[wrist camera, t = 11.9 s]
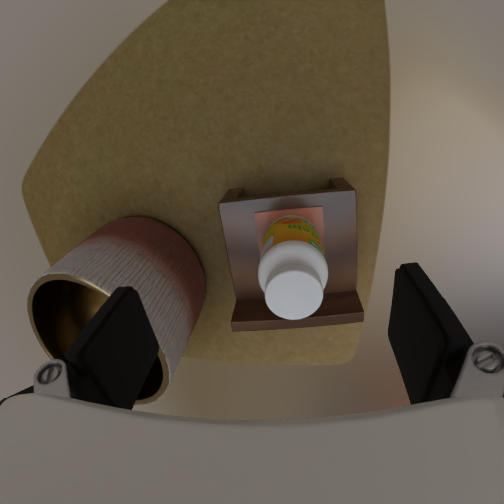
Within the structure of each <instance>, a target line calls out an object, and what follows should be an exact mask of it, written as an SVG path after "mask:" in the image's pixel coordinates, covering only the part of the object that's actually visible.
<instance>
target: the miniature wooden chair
mask: <svg viewBox="0 0 504 504" xmlns="http://www.w3.org/2000/svg"><path fill="white" fill-rule="evenodd" d="M330 186H331V189H324V190H312V191H300V192H290V193H280V194H270V195H261V196H252V197H244V194H243V188H236V189H229V190H228V191H227V193H226V194H225V195H224V197H223V198H222V199H221V201H220V202H219V203H218V206H219V212H220V217H221V223H222V228H223V233H224V239H225V244H226V249H227V254H228V259H229V265H230V270H231V275H232V280H233V285H234V290H235V295H236V304H235V308H234V312H233V315H232V319H231V326H232V330H233V332H234V331H258V330H276V329H291V328H304V327H316V326H327V325H337V324H347V323H356V322H363V320H364V310H363V307H362V305H361V302H360V299H359V296H358V293H357V291H356V284H357V206H356V190H355V189H354V188H353V187H352V186H351V185H350V184H349V183H348V182H347V181H346V180H345V179H344V178H335V179H330ZM289 215H295V216H300V217H303V218H305V219H307V220H308V221H310V222H311V223H312V224H313V225H314V226H315V228H316V229H317V231H318V234H319V236H320V240H321V244H322V248H323V251H324V255H325V259H326V262H327V267H328V279H327V283H326V286H325V288H324V290H323V299H322V302H321V305H320V306H319V308H318V309H317V310H316V311H315V312H314V313H313V314H311V315H309V316H308V317H305V318H302V319H296V320H290V319H285V318H282V317H279V316H277V315H276V314H274V313H273V312H272V311H271V310H270V309H269V307H268V306H267V303H266V300H265V293H264V292H263V290H262V288H261V286H260V284H259V279H258V268H259V262H260V257H261V251H262V245H263V239H264V235H265V232H266V230H267V229H268V227H269V226H270V225H271V224H272V223H273V222H274V221H275V220H277V219H279V218H281V217H284V216H289Z"/></svg>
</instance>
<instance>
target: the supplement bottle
mask: <svg viewBox="0 0 504 504" xmlns="http://www.w3.org/2000/svg"><path fill="white" fill-rule="evenodd" d="M258 279H259V284H260V286H261V288H262V290H263V292H264V293H265V300H266V303H267V306H268V307H269V309H270V310H271V311H272V312H273V313H274V314H276V315H277V316H279V317H282V318H285V319H290V320H296V319H302V318H305V317H308V316H309V315H311V314H313V313H314V312H315V311H316V310H317V309H318V308H319V306H320V305H321V302H322V299H323V290H324V288H325V286H326V283H327V279H328V267H327V262H326V259H325V255H324V251H323V248H322V244H321V240H320V236H319V234H318V231H317V229H316V228H315V226H314V225H313V224H312V223H311V222H310V221H308V220H307V219H305V218H303V217H300V216H295V215H289V216H284V217H281V218H279V219H277V220H275V221H274V222H273V223H272V224H271V225H270V226H269V227H268V229H267V230H266V232H265V235H264V239H263V245H262V251H261V257H260V262H259V268H258Z"/></svg>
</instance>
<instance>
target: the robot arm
mask: <svg viewBox="0 0 504 504" xmlns="http://www.w3.org/2000/svg"><path fill="white" fill-rule="evenodd" d="M388 337H389V341H390V344H391V346H392V349H393V352H394V354H395V357H396V360H397V363H398V366H399V369H400V372H401V375H402V378H403V381H404V384H405V387H406V390H407V393H408V396H409V400H410V403H411V405H408V406H403V407H397V408H392V409H385V410H379V411H372V412H364V413H358V414H350V415H341V416H331V417H320V418H307V419H286V420H227V419H207V418H193V417H181V416H172V415H163V414H155V413H147V412H140V411H133V410H132V408H133V406H134V404H135V401H136V399H137V397H138V395H139V393H140V390H141V388H142V386H143V384H144V382H145V380H146V377H147V375H148V373H149V371H150V369H151V367H152V365H153V362H154V360H155V358H156V356H157V354H158V352H159V343H158V340H157V338H156V336H155V333H154V331H153V329H152V326H151V324H150V321H149V319H148V316H147V314H146V311H145V309H144V306H143V303H142V301H141V298H140V296H139V293H138V291H137V290H134V288H133V287H131V286H125V287H117V288H116V289H115V290H114V292H113V293H112V294H111V295H110V296H109V298H108V299H107V300H106V301H105V303H104V304H103V305H102V306H101V307H100V309H99V310H98V311H97V312H96V314H95V315H94V316H93V317H92V319H91V320H90V321H89V322H88V324H87V325H86V326H85V327H84V329H83V330H82V331H81V333H80V334H79V335H78V336H77V338H76V339H75V340H74V342H73V343H72V344H71V346H70V347H69V348H68V350H67V351H66V352H65V354H64V355H65V357H66V359H67V360H68V363H67V364H65V362H63V361H62V360H59V359H53V360H50V361H48V362H46V363H44V364H43V365H42V366H40V367H39V369H38V370H37V371H36V373H35V375H34V385H33V386H31V387H29V388H27V389H24V390H23V391H20V392H18V393H16V394H14V395H11V396H9V397H8V398H4V399H3V400H1V401H0V504H504V349H503V348H502V347H500V346H499V345H498V344H495V343H493V342H489V341H480V342H477V343H475V344H474V343H473V342H472V340H471V339H470V337H469V335H468V334H467V332H466V330H465V329H464V327H463V326H462V324H461V323H460V321H459V319H458V318H457V317H456V315H455V314H454V312H453V310H452V309H451V308H450V306H449V305H448V303H447V302H446V300H445V299H444V298H443V297H442V296H441V294H440V293H439V291H438V290H437V289H436V287H435V286H434V284H433V283H432V282H431V280H430V279H429V278H428V276H427V275H426V274H425V272H424V271H423V270H422V268H421V267H420V266H419V264H418V263H407V264H402V265H401V266H400V269H396V271H395V279H394V289H393V298H392V306H391V313H390V320H389V327H388Z"/></svg>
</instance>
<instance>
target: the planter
mask: <svg viewBox="0 0 504 504" xmlns="http://www.w3.org/2000/svg"><path fill="white" fill-rule="evenodd" d="M125 286H131V287H133V288H134V290H137V291H138V293H139V296H140V298H141V301H142V303H143V306H144V309H145V311H146V314H147V316H148V319H149V321H150V324H151V326H152V329H153V331H154V333H155V336H156V338H157V340H158V343H159V352H158V354H157V356H156V358H155V360H154V362H153V365H152V367H151V369H150V371H149V373H148V375H147V377H146V380H145V382H144V384H143V386H142V388H141V390H140V393H139V395H138V397H137V399H136V401H135V404H134V405H143V404H148V403H152V402H154V401H156V400H158V399H159V398H161V397H162V396H163V395H164V394H165V392H166V391H167V389H168V387H169V385H170V383H171V380H172V378H173V375H174V373H175V370H176V368H177V366H178V363H179V361H180V358H181V356H182V354H183V351H184V349H185V346H186V344H187V342H188V340H189V337H190V335H191V333H192V330H193V328H194V326H195V324H196V321H197V319H198V317H199V314H200V312H201V309H202V306H203V303H204V299H205V293H206V282H205V276H204V272H203V269H202V266H201V263H200V261H199V259H198V257H197V256H196V254H195V252H194V251H193V249H192V248H191V247H190V245H189V244H188V243H187V242H186V241H185V240H184V239H183V238H182V237H181V236H180V235H179V234H178V233H176V232H175V231H174V230H172V229H171V228H169V227H168V226H166V225H164V224H162V223H160V222H158V221H155V220H153V219H149V218H145V217H137V216H130V217H123V218H119V219H116V220H114V221H112V222H110V223H108V224H106V225H105V226H103V227H102V228H100V229H99V230H97V231H96V232H95V233H93V234H92V235H91V236H89V237H88V238H87V239H86V240H84V241H83V242H82V243H80V244H79V245H78V246H77V247H75V248H74V249H73V250H72V251H70V252H69V253H68V254H67V255H65V256H64V257H63V258H62V259H60V260H59V261H58V262H57V263H55V264H54V265H53V266H52V267H51V268H50V269H48V270H47V271H46V272H44V273H43V274H42V275H41V276H40V277H39V278H37V280H35V282H34V283H33V284H32V286H31V288H30V290H29V293H28V299H27V309H28V316H29V320H30V323H31V326H32V329H33V332H34V334H35V336H36V338H37V340H38V342H39V343H40V345H41V347H42V348H43V350H44V351H45V352H46V354H47V355H48V356H49V358H50V359H51V360H53V359H59V360H62V361H63V362H65V364H67V363H68V360H67V359H66V357H65V355H64V354H65V352H66V351H67V350H68V348H69V347H70V346H71V344H72V343H73V342H74V340H75V339H76V338H77V336H78V335H79V334H80V333H81V331H82V330H83V329H84V327H85V326H86V325H87V324H88V322H89V321H90V320H91V319H92V317H93V316H94V315H95V314H96V312H97V311H98V310H99V309H100V307H101V306H102V305H103V304H104V303H105V301H106V300H107V299H108V298H109V296H110V295H111V294H112V293H113V292H114V290H115V289H116V288H117V287H125Z"/></svg>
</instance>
